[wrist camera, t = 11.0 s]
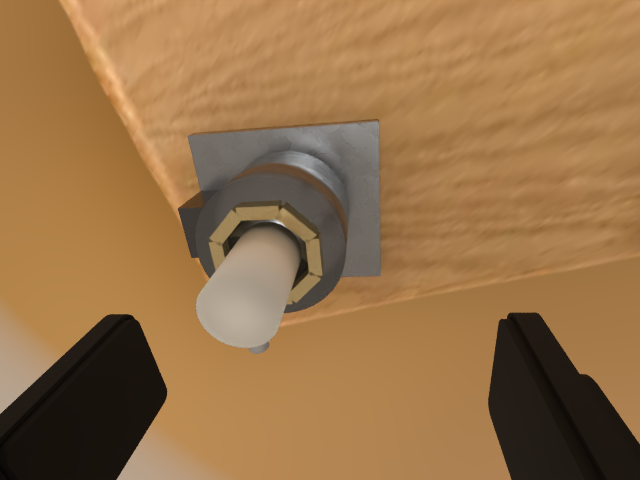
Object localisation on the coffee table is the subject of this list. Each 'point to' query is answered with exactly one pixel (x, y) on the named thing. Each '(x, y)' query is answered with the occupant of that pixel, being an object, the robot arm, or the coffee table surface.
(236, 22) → the coffee table surface
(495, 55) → the coffee table surface
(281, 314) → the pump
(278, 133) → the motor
